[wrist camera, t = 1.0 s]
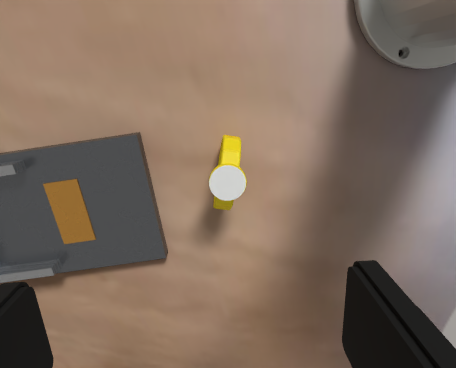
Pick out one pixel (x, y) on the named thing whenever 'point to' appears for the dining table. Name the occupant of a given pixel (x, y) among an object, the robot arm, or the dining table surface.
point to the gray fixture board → (77, 208)
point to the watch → (228, 174)
